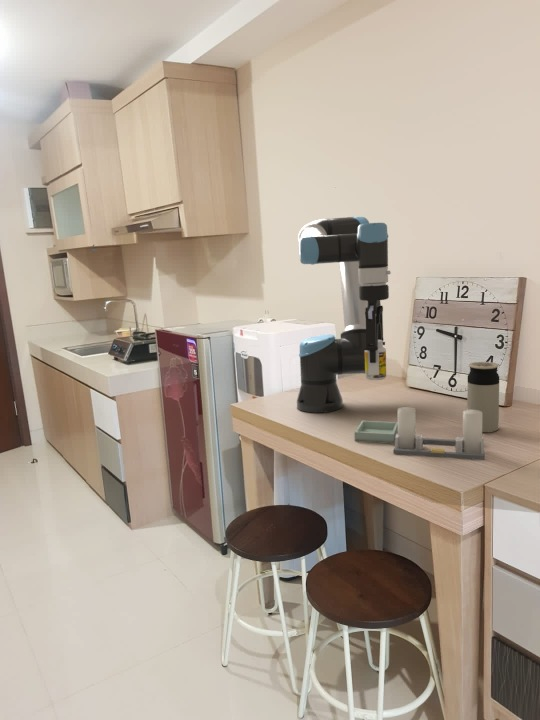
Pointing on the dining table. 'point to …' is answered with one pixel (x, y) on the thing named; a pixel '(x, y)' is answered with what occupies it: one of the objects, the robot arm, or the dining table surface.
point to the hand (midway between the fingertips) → (375, 371)
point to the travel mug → (484, 393)
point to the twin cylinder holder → (410, 441)
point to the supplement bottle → (381, 363)
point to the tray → (376, 431)
